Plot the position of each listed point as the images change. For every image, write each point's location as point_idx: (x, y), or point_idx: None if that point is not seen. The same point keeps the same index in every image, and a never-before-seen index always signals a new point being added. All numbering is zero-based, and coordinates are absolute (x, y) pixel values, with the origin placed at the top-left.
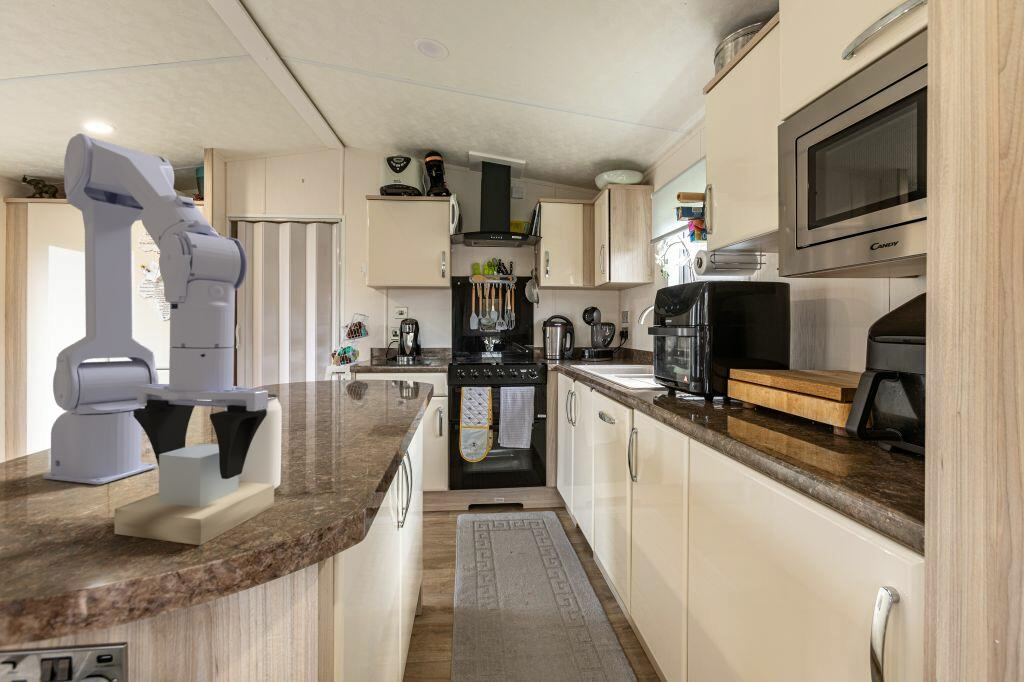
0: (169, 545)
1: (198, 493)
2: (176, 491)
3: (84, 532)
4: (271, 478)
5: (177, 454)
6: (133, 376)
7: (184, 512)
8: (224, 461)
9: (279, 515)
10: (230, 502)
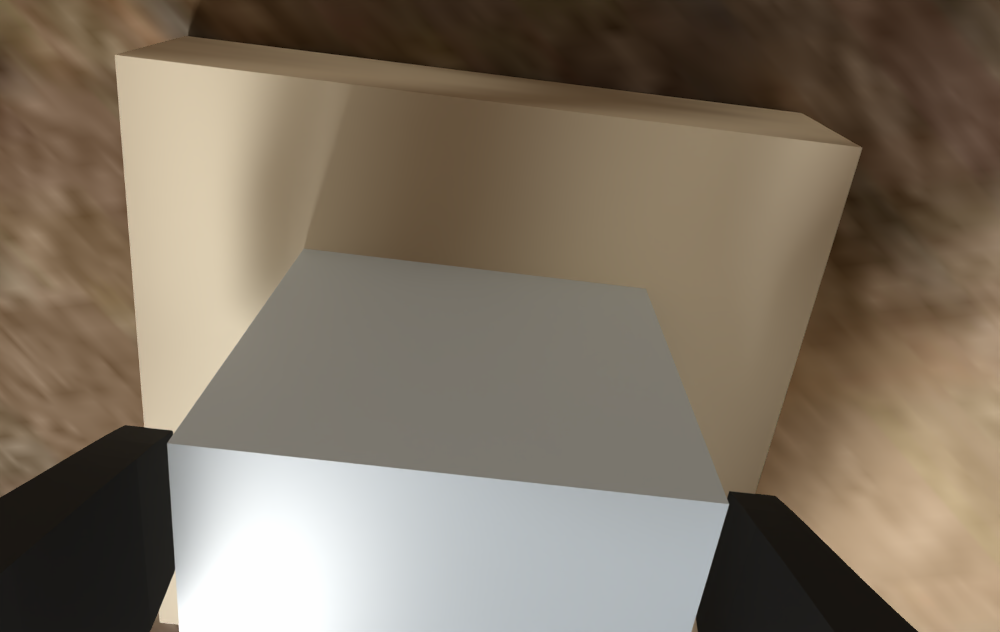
0: (365, 15)
1: (291, 285)
2: (496, 308)
3: (995, 111)
4: None
5: (533, 528)
6: None
7: (332, 154)
8: (24, 497)
9: (86, 435)
10: (179, 347)
